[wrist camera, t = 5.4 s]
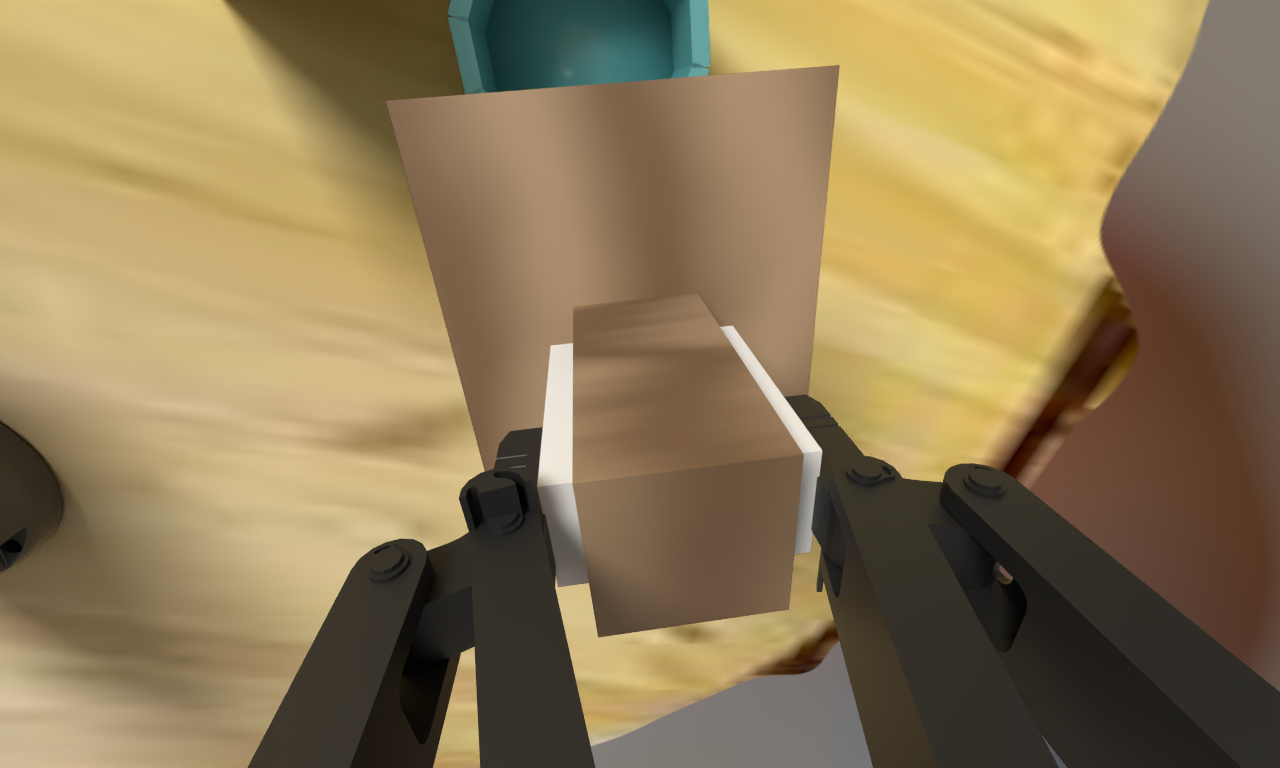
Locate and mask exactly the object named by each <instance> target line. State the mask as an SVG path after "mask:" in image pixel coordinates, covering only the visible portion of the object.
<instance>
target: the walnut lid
mask: <svg viewBox="0 0 1280 768" xmlns="http://www.w3.org/2000/svg"><path fill="white" fill-rule="evenodd" d="M839 66H840V65H836V66H823V67H811V68H798V69H785V70H772V71H759V72H747V73H734V74H721V75H708V76H696V77H683V78H670V79H657V80H645V81H632V82H619V83H606V84H594V85H581V86H568V87H555V88H542V89H530V90H517V91H504V92H491V93H479V94H466V95H453V96H440V97H428V98H415V99H402V100H389V101H386V103H387V107H388V110H389V114H390V118H391V122H392V125H393V129H394V133H395V137H396V140H397V144H398V148H399V152H400V155H401V159H402V163H403V167H404V170H405V174H406V178H407V182H408V185H409V189H410V193H411V197H412V200H413V204H414V208H415V212H416V215H417V219H418V223H419V227H420V230H421V234H422V238H423V242H424V245H425V249H426V253H427V257H428V260H429V264H430V268H431V271H432V275H433V279H434V283H435V286H436V290H437V294H438V298H439V301H440V305H441V309H442V313H443V316H444V320H445V324H446V328H447V331H448V335H449V339H450V343H451V346H452V350H453V354H454V358H455V361H456V365H457V369H458V373H459V376H460V380H461V384H462V388H463V391H464V395H465V399H466V403H467V406H468V410H469V414H470V418H471V421H472V425H473V429H474V433H475V436H476V440H477V444H478V448H479V451H480V455H481V459H482V463H483V466H484V470H485V471H488V470H491V469H494V465H495V461H496V456H497V452H498V447H499V443H500V442H501V441H502V440H503V439H504V438H505V436H506V435H507V434H508V433H509V432H510V431H514V430H523V429H531V428H539V427H543V421H544V410H545V400H546V389H547V379H548V368H549V358H550V347H551V345H560V344H569V343H573V459H572V484H573V490H574V496H575V502H576V508H577V514H578V520H579V526H580V532H581V538H582V544H583V550H584V556H585V561H586V567H587V573H588V579H589V585H590V591H591V597H592V603H593V609H594V615H595V621H596V627H597V633H598V637H604V636H611V635H618V634H625V633H632V632H639V631H645V630H652V629H659V628H666V627H673V626H680V625H686V624H693V623H700V622H707V621H714V620H721V619H727V618H734V617H741V616H748V615H755V614H762V613H768V612H775V611H782V610H789V602H790V592H791V582H792V571H793V561H794V551H795V541H796V530H797V520H798V510H799V500H800V489H801V479H802V469H803V459H804V454H803V452H802V451H801V449H800V448H799V446H798V445H797V443H796V442H795V440H794V439H793V437H792V436H791V434H790V432H789V431H788V429H787V428H786V426H785V425H784V423H783V422H782V420H781V419H780V417H779V416H778V414H777V413H776V411H775V410H774V408H773V407H772V405H771V404H770V402H769V401H768V399H767V398H766V396H765V394H764V393H763V391H762V390H761V388H760V387H759V385H758V384H757V382H756V381H755V379H754V378H753V376H752V375H751V373H750V372H749V370H748V369H747V367H746V366H745V364H744V363H743V361H742V360H741V358H740V356H739V355H738V353H737V352H736V350H735V349H734V347H733V346H732V344H731V343H730V341H729V340H728V338H727V337H726V335H725V334H724V332H723V331H722V329H721V328H720V327H724V326H733V327H734V328H735V329H736V331H737V332H738V334H739V335H740V336H741V338H742V339H743V341H744V342H745V343H746V345H747V346H748V348H749V349H750V350H751V352H752V353H753V355H754V356H755V357H756V359H757V360H758V362H759V363H760V364H761V366H762V367H763V369H764V370H765V371H766V373H767V374H768V375H769V377H770V378H771V380H772V381H773V382H774V384H775V385H776V387H777V388H778V389H779V391H780V392H781V394H782V395H783V396H784V397H787V396H795V395H804V394H805V395H807V396H808V390H809V379H810V369H811V358H812V348H813V337H814V327H815V316H816V306H817V295H818V285H819V275H820V264H821V254H822V243H823V233H824V222H825V212H826V201H827V191H828V181H829V170H830V160H831V149H832V139H833V128H834V118H835V107H836V97H837V87H838V76H839Z"/></svg>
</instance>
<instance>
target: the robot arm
mask: <svg viewBox="0 0 1280 768" xmlns="http://www.w3.org/2000/svg"><path fill="white" fill-rule="evenodd" d="M720 328H721V329H722V331H723V332H724V334H725V335H726V337H727V338H728V340H729V341H730V343H731V344H732V346H733V347H734V349H735V350H736V352H737V353H738V355H739V356H740V358H741V360H742V361H743V363H744V364H745V366H746V367H747V369H748V370H749V372H750V373H751V375H752V376H753V378H754V379H755V381H756V382H757V384H758V385H759V387H760V388H761V390H762V391H763V393H764V394H765V396H766V398H767V399H768V401H769V402H770V404H771V405H772V407H773V408H774V410H775V411H776V413H777V414H778V416H779V417H780V419H781V420H782V422H783V423H784V425H785V426H786V428H787V429H788V431H789V432H790V434H791V436H792V437H793V439H794V440H795V442H796V443H797V445H798V446H799V448H800V449H801V451H802V452H803V454H804V459H803V469H802V479H801V489H800V500H799V510H798V520H797V530H796V541H795V551H794V554H799V553H806V552H810V551H811V543H812V534H813V533H814V535H815V537H816V539H817V541H818V542H819V544H820V546H821V554H820V562H819V569H818V577H817V592H822V588H823V582H824V584H825V588H826V591H827V595H828V599H829V603H830V607H831V610H832V614H833V618H834V622H835V625H836V629H837V633H838V637H839V640H840V644H841V648H842V652H843V655H844V659H845V663H846V667H847V671H848V674H849V678H850V682H851V685H852V689H853V693H854V697H855V701H856V705H857V708H858V712H859V716H860V720H861V723H862V727H863V731H864V734H865V738H866V742H867V746H868V750H869V753H870V757H871V761H872V765H873V768H1059V767H1058V765H1057V763H1056V761H1055V759H1054V757H1053V756H1052V754H1051V752H1050V750H1049V748H1048V746H1047V744H1046V743H1045V741H1044V739H1043V737H1044V738H1045V739H1046V741H1047V742H1048V743H1049V744H1050V746H1051V747H1052V748H1053V750H1054V751H1055V752H1056V754H1057V755H1058V756H1059V757H1060V759H1061V760H1062V761H1063V763H1064V764H1065V765H1066V766H1067V768H1280V692H1279V691H1278V690H1277V689H1275V688H1274V687H1273V686H1272V685H1271V684H1269V683H1268V682H1267V681H1265V680H1264V679H1263V678H1262V677H1261V676H1259V675H1258V674H1257V673H1255V672H1254V671H1253V670H1252V669H1251V668H1249V667H1248V666H1247V665H1246V664H1244V663H1243V662H1242V661H1241V660H1239V659H1238V658H1237V657H1236V656H1234V655H1233V654H1232V653H1231V652H1229V651H1228V650H1227V649H1226V648H1224V647H1223V646H1222V645H1221V644H1220V643H1218V642H1217V641H1216V640H1215V639H1213V638H1212V637H1211V636H1210V635H1208V634H1207V633H1206V632H1205V631H1203V630H1202V629H1201V628H1200V627H1198V626H1197V625H1196V624H1195V623H1193V622H1192V621H1191V620H1190V619H1188V618H1187V617H1186V616H1185V615H1184V614H1182V613H1181V612H1180V611H1179V610H1177V609H1176V608H1175V607H1174V606H1172V605H1171V604H1170V603H1169V602H1167V601H1166V600H1165V599H1163V598H1162V597H1161V596H1160V595H1159V594H1157V593H1156V592H1155V591H1154V590H1152V589H1151V588H1150V587H1149V586H1147V585H1146V584H1145V583H1144V582H1142V581H1141V580H1140V579H1139V578H1137V577H1136V576H1135V575H1134V574H1133V573H1131V572H1130V571H1129V570H1128V569H1126V568H1125V567H1124V566H1122V565H1121V564H1120V563H1118V562H1117V561H1116V560H1115V559H1114V558H1112V557H1111V556H1110V555H1109V554H1108V553H1106V552H1105V551H1104V550H1103V549H1102V548H1100V547H1099V546H1098V545H1096V544H1095V543H1094V542H1093V541H1092V540H1090V539H1089V538H1088V537H1086V536H1085V535H1084V534H1083V533H1082V532H1080V531H1079V530H1078V529H1077V528H1075V527H1074V526H1073V525H1072V524H1070V523H1069V522H1068V521H1067V520H1065V519H1064V518H1063V517H1062V516H1060V515H1059V514H1058V513H1056V512H1055V511H1054V510H1053V509H1052V508H1050V507H1049V506H1048V505H1047V504H1046V503H1044V502H1043V501H1042V500H1041V499H1039V498H1038V497H1037V496H1036V495H1034V494H1033V493H1032V492H1031V491H1029V490H1028V489H1027V488H1026V487H1024V486H1023V485H1022V484H1021V483H1019V482H1018V481H1017V480H1016V479H1014V478H1013V477H1011V476H1009V475H1008V474H1006V473H1005V472H1003V471H1000V470H998V469H995V468H992V467H989V466H985V465H980V464H974V463H971V464H958V465H955V466H952V467H950V468H949V469H948V470H947V472H946V473H945V476H944V479H943V483H942V482H931V481H920V480H911V479H904V478H902V477H901V475H900V474H899V473H898V471H897V470H896V469H895V468H894V467H893V466H891V465H890V464H888V463H886V462H885V461H883V460H880V459H877V458H873V457H870V456H864V455H863V454H862V452H861V451H860V450H859V449H858V447H857V446H856V445H855V444H854V443H853V441H852V440H851V439H850V438H849V437H848V435H847V434H846V433H845V432H844V431H843V429H842V428H841V427H840V426H838V423H837V422H836V421H835V420H834V418H833V417H831V416H830V414H829V412H828V411H827V410H826V409H825V408H824V406H823V405H822V404H821V403H820V402H818V401H816V400H814V399H813V398H811V397H809V396H807V395H805V394H804V395H795V396H787V397H784V396H783V395H782V394H781V392H780V391H779V389H778V388H777V387H776V385H775V384H774V382H773V381H772V380H771V378H770V377H769V375H768V374H767V373H766V371H765V370H764V369H763V367H762V366H761V364H760V363H759V362H758V360H757V359H756V357H755V356H754V355H753V353H752V352H751V350H750V349H749V348H748V346H747V345H746V343H745V342H744V341H743V339H742V338H741V336H740V335H739V334H738V332H737V331H736V329H735V328H734V327H733V326H724V327H720ZM572 459H573V343H569V344H560V345H551V347H550V358H549V368H548V379H547V389H546V400H545V410H544V421H543V427H539V428H531V429H523V430H514V431H510V432H509V433H508V434H507V435H506V436H505V438H504V439H503V440H502V441H501V442H500V443H499V447H498V452H497V456H496V461H495V465H494V469H491V470H488V471H485V472H483V473H480V474H478V475H477V476H475V477H474V478H472V479H471V480H469V481H468V482H467V483H466V485H465V486H464V487H463V488H462V489H461V493H460V496H459V500H460V504H461V507H462V510H463V513H464V517H465V520H466V523H467V526H468V530H469V532H468V533H467V534H465V535H464V536H462V537H461V538H459V539H457V540H455V541H452V542H450V543H448V544H445V545H442V546H440V547H437V548H434V549H431V550H429V551H426V549H425V547H424V545H423V544H422V543H420V542H418V541H416V540H414V539H398V540H394V541H389V542H386V543H384V544H382V545H379V546H377V547H375V548H373V549H372V550H370V551H369V552H368V553H366V554H365V555H364V556H363V557H361V558H360V559H359V560H358V562H357V563H356V564H355V566H354V567H353V568H352V570H351V571H350V573H349V575H348V577H347V579H346V581H345V583H344V585H343V587H342V588H341V590H340V592H339V594H338V596H337V598H336V600H335V602H334V604H333V606H332V608H331V609H330V611H329V613H328V615H327V617H326V619H325V621H324V623H323V625H322V627H321V629H320V630H319V632H318V634H317V636H316V638H315V640H314V642H313V644H312V646H311V648H310V650H309V651H308V653H307V655H306V657H305V659H304V661H303V663H302V665H301V667H300V669H299V671H298V672H297V674H296V676H295V678H294V680H293V682H292V684H291V686H290V688H289V690H288V692H287V693H286V695H285V697H284V699H283V701H282V703H281V705H280V707H279V709H278V711H277V713H276V714H275V716H274V718H273V720H272V722H271V724H270V726H269V728H268V730H267V732H266V734H265V735H264V737H263V739H262V741H261V743H260V745H259V747H258V749H257V751H256V753H255V755H254V756H253V758H252V760H251V762H250V764H249V766H248V768H433V765H434V761H435V757H436V753H437V749H438V745H439V740H440V736H441V732H442V728H443V724H444V720H445V716H446V712H447V708H448V704H449V700H450V696H451V691H452V687H453V683H454V679H455V675H456V671H457V667H458V663H459V659H460V655H461V652H463V651H466V650H468V649H470V648H472V647H475V664H476V685H477V706H478V727H479V748H480V768H595V764H594V760H593V755H592V751H591V746H590V742H589V737H588V733H587V728H586V724H585V719H584V715H583V710H582V706H581V702H580V697H579V693H578V688H577V684H576V679H575V675H574V670H573V666H572V661H571V657H570V652H569V648H568V643H567V639H566V634H565V630H564V626H563V621H562V617H561V612H560V608H559V603H558V599H557V594H556V590H555V576H556V579H557V584H558V587H563V586H570V585H577V584H584V583H589V579H588V573H587V567H586V561H585V556H584V550H583V544H582V538H581V532H580V526H579V520H578V514H577V508H576V502H575V496H574V490H573V484H572ZM61 516H62V499H61V494H60V491H59V488H58V485H57V483H56V481H55V479H54V477H53V475H52V473H51V472H50V470H49V469H48V467H47V466H46V465H45V463H44V462H43V461H42V459H41V458H40V457H39V456H38V455H37V454H36V453H35V452H34V451H33V450H32V449H31V448H30V447H29V446H28V445H27V444H26V443H25V442H24V441H23V440H22V439H20V438H19V437H18V436H17V435H15V434H14V433H13V432H12V431H10V430H9V429H7V428H6V427H5V426H3V425H2V424H0V574H1V573H3V572H5V571H7V570H9V569H10V568H12V567H13V566H15V565H17V564H18V563H20V562H21V561H22V560H24V559H25V558H26V557H27V556H28V555H30V554H31V553H32V552H33V551H35V550H36V549H37V548H38V547H39V546H41V545H42V544H43V543H44V542H45V541H47V540H48V539H49V538H50V537H51V536H52V534H53V533H54V532H55V530H56V529H57V527H58V525H59V523H60V520H61ZM1000 565H1001V566H1002V567H1003V568H1004V569H1005V570H1006V571H1007V572H1008V573H1009V574H1010V575H1011V576H1013V580H1012V581H1010V580H1009V579H1007V578H1006V577H1005V576H1004V575H1003V574H1002V573H1001V572H1000V571H999V568H1000ZM1041 734H1042V735H1043V737H1042V735H1041Z"/></svg>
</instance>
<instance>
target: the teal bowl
mask: <svg viewBox="0 0 1280 768" xmlns="http://www.w3.org/2000/svg"><path fill="white" fill-rule="evenodd" d="M448 14H449V15H450V16H452V17H449V18H448V22H449V26H450V30H451V35H452V39H453V43H454V48H455V52H456V56H457V61H458V65H459V69H460V74H461V78H462V82H463V87H464V91H465V94H479V93H491V92H504V91H517V90H530V89H542V88H555V87H568V86H581V85H594V84H606V83H619V82H632V81H645V80H657V79H670V78H683V77H696V76H707V75H708V73H709V70H708V69H707V67H710V43H709V11H708V0H451V1H450V5H449V10H448Z"/></svg>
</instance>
